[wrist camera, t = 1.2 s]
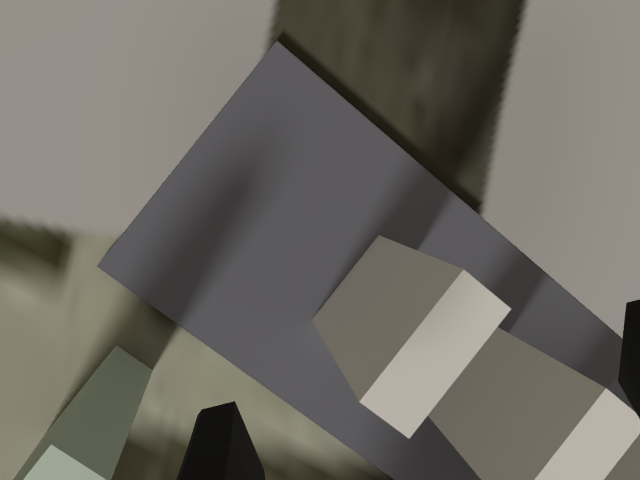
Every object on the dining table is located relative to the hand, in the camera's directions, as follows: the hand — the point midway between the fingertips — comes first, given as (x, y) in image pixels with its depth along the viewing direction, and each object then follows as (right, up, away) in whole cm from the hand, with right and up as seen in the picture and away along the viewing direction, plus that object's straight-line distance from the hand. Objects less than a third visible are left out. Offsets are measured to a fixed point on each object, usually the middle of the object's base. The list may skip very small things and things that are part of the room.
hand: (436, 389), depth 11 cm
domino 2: (+3, -2, +12) cm, 13 cm away
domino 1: (-1, +1, +11) cm, 11 cm away
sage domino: (-10, -3, +11) cm, 15 cm away
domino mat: (+3, -2, +13) cm, 13 cm away
